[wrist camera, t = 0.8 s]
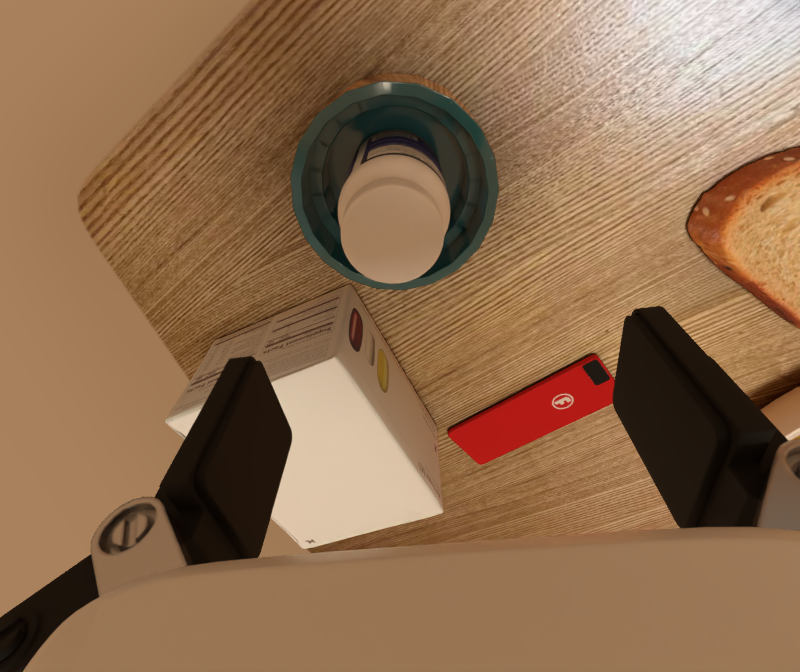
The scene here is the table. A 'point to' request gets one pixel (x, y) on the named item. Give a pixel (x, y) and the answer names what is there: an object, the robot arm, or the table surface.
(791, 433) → the bowl
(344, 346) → the supplement box
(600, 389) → the electronic device
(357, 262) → the pill bottle
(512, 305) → the table surface
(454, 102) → the teal bowl
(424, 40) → the table surface
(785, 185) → the bread slice
